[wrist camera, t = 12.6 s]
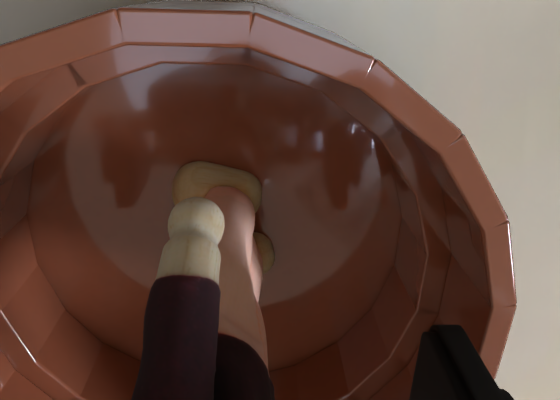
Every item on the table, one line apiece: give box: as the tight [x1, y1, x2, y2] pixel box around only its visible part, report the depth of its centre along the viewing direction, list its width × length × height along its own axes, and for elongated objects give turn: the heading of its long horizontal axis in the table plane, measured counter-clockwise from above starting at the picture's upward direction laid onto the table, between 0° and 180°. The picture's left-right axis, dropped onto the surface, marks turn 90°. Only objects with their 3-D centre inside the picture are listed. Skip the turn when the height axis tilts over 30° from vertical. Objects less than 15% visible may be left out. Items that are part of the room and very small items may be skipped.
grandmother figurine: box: [131, 161, 275, 400], centre depth 9 cm, size 8×4×13 cm, turn 18°
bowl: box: [0, 0, 517, 400], centre depth 13 cm, size 14×14×6 cm
